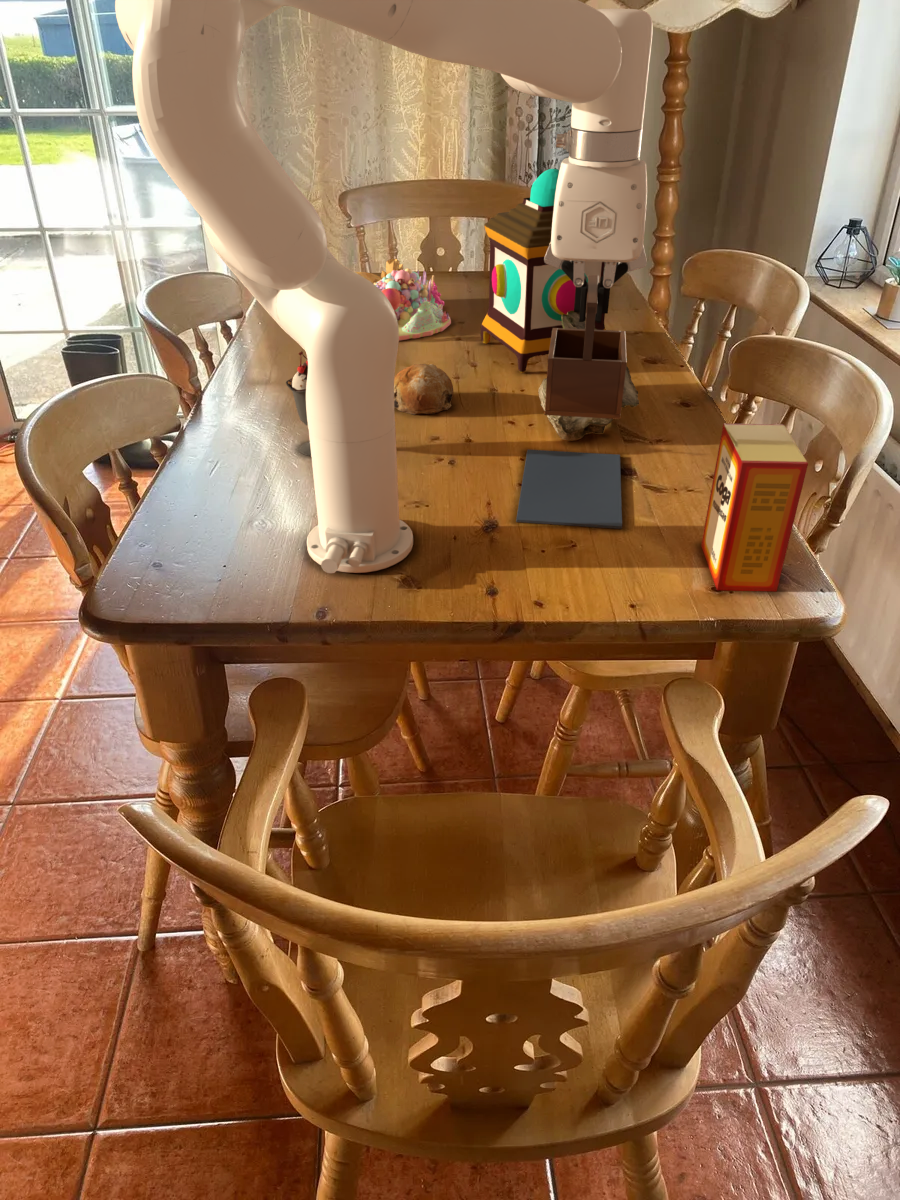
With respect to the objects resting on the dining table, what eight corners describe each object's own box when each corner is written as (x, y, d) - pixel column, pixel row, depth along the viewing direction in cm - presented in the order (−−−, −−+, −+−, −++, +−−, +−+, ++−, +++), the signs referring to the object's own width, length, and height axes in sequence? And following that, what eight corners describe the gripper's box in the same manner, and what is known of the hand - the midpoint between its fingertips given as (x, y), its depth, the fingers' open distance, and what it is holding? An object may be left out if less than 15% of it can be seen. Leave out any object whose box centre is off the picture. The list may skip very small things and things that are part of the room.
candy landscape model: (307, 316, 179) (303, 268, 174) (399, 292, 192) (398, 246, 187) (387, 348, 164) (385, 296, 159) (481, 320, 177) (482, 271, 172)
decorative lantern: (620, 362, 158) (640, 174, 141) (516, 378, 152) (524, 184, 135) (566, 327, 173) (578, 154, 156) (470, 341, 167) (471, 162, 150)
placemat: (621, 529, 112) (622, 526, 111) (516, 522, 113) (516, 519, 113) (619, 457, 128) (620, 454, 127) (527, 451, 129) (527, 449, 129)
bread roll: (434, 439, 141) (455, 397, 136) (374, 408, 140) (394, 364, 135) (446, 413, 149) (467, 372, 144) (391, 384, 148) (410, 342, 143)
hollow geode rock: (578, 403, 155) (520, 336, 151) (639, 354, 149) (580, 284, 145) (569, 472, 132) (500, 397, 128) (640, 419, 126) (570, 337, 121)
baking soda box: (701, 545, 108) (723, 420, 99) (756, 546, 108) (784, 421, 99) (717, 590, 101) (743, 459, 91) (776, 591, 100) (809, 460, 91)
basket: (620, 419, 108) (633, 304, 100) (544, 415, 109) (551, 301, 101) (619, 384, 117) (631, 276, 109) (549, 380, 118) (556, 273, 110)
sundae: (296, 462, 127) (285, 357, 118) (290, 442, 132) (279, 340, 124) (343, 456, 128) (335, 352, 120) (335, 436, 134) (327, 336, 125)
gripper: (529, 151, 95) (522, 326, 105) (681, 154, 93) (658, 332, 103) (534, 139, 101) (526, 306, 111) (676, 142, 99) (655, 311, 110)
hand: (590, 317), depth 107 cm, fingers closed on basket, 1 cm apart
